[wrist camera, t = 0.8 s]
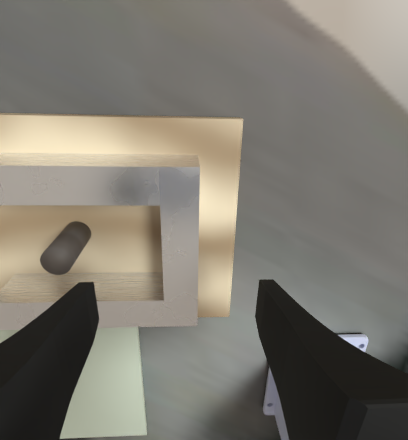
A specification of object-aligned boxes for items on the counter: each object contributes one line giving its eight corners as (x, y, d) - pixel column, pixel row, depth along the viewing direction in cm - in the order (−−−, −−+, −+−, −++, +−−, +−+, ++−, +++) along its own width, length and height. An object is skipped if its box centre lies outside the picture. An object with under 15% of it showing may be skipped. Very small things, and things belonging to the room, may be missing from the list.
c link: (195, 295, 21) (197, 325, 19) (22, 297, 21) (-4, 330, 18) (197, 154, 17) (200, 167, 15) (-18, 152, 17) (-59, 164, 14)
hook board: (227, 305, 23) (236, 354, 19) (15, 309, 22) (-25, 362, 18) (239, 117, 18) (256, 126, 13) (-42, 112, 17) (-121, 120, 12)
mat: (147, 430, 29) (146, 435, 29) (-3, 436, 28) (-5, 441, 28) (137, 317, 23) (136, 321, 23) (-50, 321, 23) (-54, 325, 22)
